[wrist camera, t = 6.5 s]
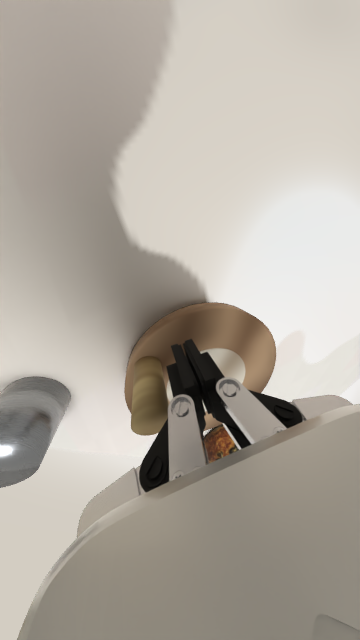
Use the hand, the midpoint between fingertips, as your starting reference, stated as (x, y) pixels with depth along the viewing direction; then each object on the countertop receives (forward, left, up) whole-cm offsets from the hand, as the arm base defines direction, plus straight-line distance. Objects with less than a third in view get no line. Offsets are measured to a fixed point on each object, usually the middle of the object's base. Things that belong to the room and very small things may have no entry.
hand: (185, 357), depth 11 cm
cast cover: (+4, -16, -6) cm, 18 cm away
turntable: (+6, +2, -4) cm, 8 cm away
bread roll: (+28, +4, -6) cm, 29 cm away
